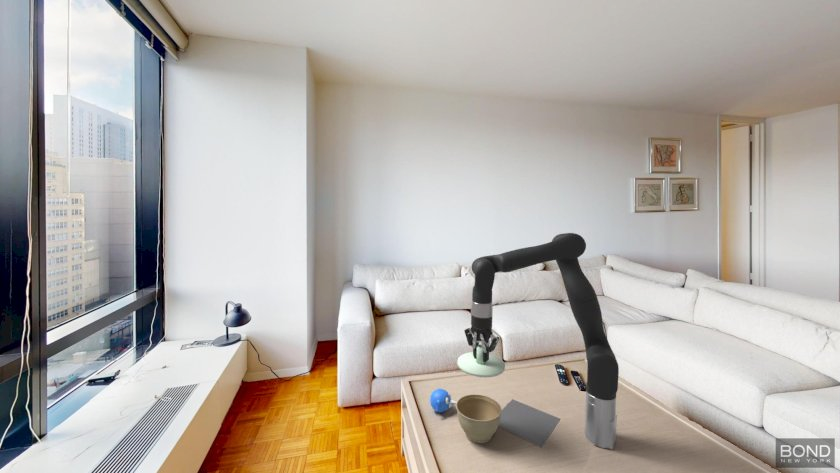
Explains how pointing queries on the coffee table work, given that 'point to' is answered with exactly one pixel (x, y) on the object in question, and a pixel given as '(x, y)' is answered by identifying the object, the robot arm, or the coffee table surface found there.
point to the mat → (527, 422)
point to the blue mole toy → (441, 400)
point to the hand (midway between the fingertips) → (480, 359)
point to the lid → (481, 364)
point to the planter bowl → (478, 416)
